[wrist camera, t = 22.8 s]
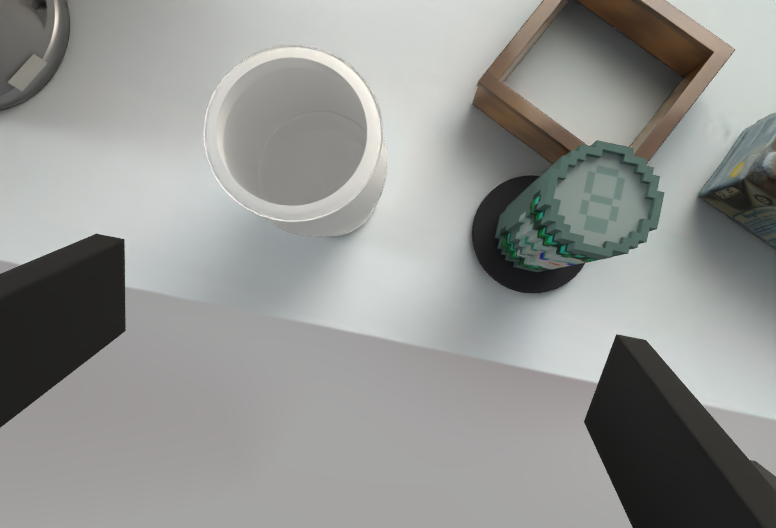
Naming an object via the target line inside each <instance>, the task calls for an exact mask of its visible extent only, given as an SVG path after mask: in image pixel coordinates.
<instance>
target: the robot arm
mask: <svg viewBox="0 0 776 528" xmlns="http://www.w3.org/2000/svg"><path fill="white" fill-rule="evenodd" d="M69 31H70V19H69V12H68V7H67V3H66V0H0V110H3V109H7V108H10V107H12V106H15V105H17V104H19V103H21V102H23V101H25V100H27V99H28V98H30V97H31V96H33V95H34V94H35V93H37V92H38V91H39V90H40V89H41V88H42V87H44V86H45V84H46V83H47V82H48V81H49V80H50V79H51V77H52V76H53V75H54V73H55V72H56V70H57V69H58V67H59V65H60V63H61V61H62V59H63V57H64V54H65V51H66V48H67V44H68V39H69ZM124 331H125V251H124V239H120V238H115V237H110V236H105V235H100V234H95V235H93V236H90V237H88V238H85V239H83V240H81V241H78V242H76V243H73V244H71V245H69V246H66V247H64V248H61V249H59V250H57V251H54V252H52V253H49V254H47V255H45V256H42V257H40V258H37V259H35V260H33V261H30V262H28V263H25V264H23V265H21V266H18V267H16V268H13V269H11V270H9V271H6V272H4V273H1V274H0V427H1V426H3V425H4V424H5V423H7V422H8V421H9V420H11V419H12V418H13V417H15V416H16V415H17V414H18V413H20V412H21V411H22V410H23V409H25V408H26V407H28V406H29V405H30V404H31V403H33V402H34V401H35V400H37V399H38V398H39V397H40V396H42V395H43V394H44V393H45V392H47V391H48V390H49V389H51V388H52V387H53V386H54V385H56V384H57V383H58V382H60V381H61V380H63V379H64V378H65V377H66V376H68V375H69V374H70V373H72V372H73V371H74V370H75V369H77V368H78V367H79V366H81V365H82V364H83V363H84V362H86V361H87V360H88V359H90V358H91V357H92V356H94V355H95V354H96V353H97V352H99V351H100V350H101V349H103V348H104V347H105V346H107V345H108V344H109V343H110V342H112V341H113V340H114V339H115V338H117V337H118V336H119V335H121V334H122V333H123V332H124ZM584 423H585V425H586V427H587V429H588V431H589V434H590V436H591V438H592V440H593V442H594V444H595V447H596V449H597V451H598V453H599V455H600V458H601V459H602V462H603V464H604V466H605V468H606V471H607V473H608V475H609V477H610V479H611V481H612V484H613V486H614V488H615V490H616V492H617V494H618V497H619V499H620V501H621V503H622V505H623V507H624V510H625V512H626V514H627V516H628V518H629V521H630V523H631V525H632V527H633V528H776V477H775V476H774V475H773V474H771V473H770V472H769V471H768V470H766V469H765V468H763V467H762V466H761V465H759V464H758V463H757V462H756V461H751V460H749V459H748V458H747V457H746V456H745V454H744V453H743V452H742V451H741V450H740V449H739V448H738V446H737V445H736V444H735V443H734V442H733V440H732V439H731V438H730V437H729V436H728V435H727V434H726V432H725V431H724V430H723V429H722V428H721V427H720V425H719V424H718V423H717V422H716V421H715V420H714V418H713V417H712V416H711V415H710V414H709V413H708V412H707V410H706V409H705V408H704V407H703V406H702V405H701V403H700V402H699V401H698V400H697V399H696V398H695V396H694V395H693V394H692V393H691V392H690V391H689V389H688V388H687V387H686V386H685V385H684V384H683V383H682V381H681V380H680V379H679V378H678V377H677V376H676V374H675V373H674V372H673V371H672V370H671V369H670V367H669V366H668V365H667V364H666V363H665V362H664V361H663V359H662V358H661V357H660V356H659V355H658V354H657V352H656V351H655V350H654V349H653V348H652V347H651V345H650V344H649V343H648V342H647V341H646V340H643V339H637V338H632V337H627V336H622V335H617V334H616V337H615V340H614V342H613V345H612V348H611V350H610V353H609V356H608V358H607V361H606V364H605V366H604V369H603V372H602V375H601V377H600V380H599V383H598V385H597V388H596V391H595V394H594V396H593V399H592V402H591V404H590V407H589V410H588V412H587V415H586V418H585V421H584Z"/></svg>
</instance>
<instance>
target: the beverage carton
mask: <svg viewBox="0 0 776 528" xmlns="http://www.w3.org/2000/svg"><path fill="white" fill-rule="evenodd" d="M699 197H701V198H702V199H704V200H705V201H707V202H708V203H709V204H711V205H712V206H714V207H715V208H717V209H718V210H720V211H721V212H723V213H724V214H726V215H727V216H729V217H730V218H732V219H733V220H735V221H736V222H737V223H739V224H740V225H742V226H743V227H745V228H746V229H747V230H749V231H750V232H752V233H753V234H755V235H756V236H758V237H759V238H761V239H762V240H764V241H765V242H767V243H768V244H769V245H771V246H772V247H774V248H775V249H776V113H773V114H771V115H768V116H767V117H765V118H763V119H761V120H759V121H757V122H756V123H755V124H754V125H752V126H750V127H748V128H746V129H745V130H744V131H743V132H742V134H741V135H740V137H739V139H738V140H737V141H736V143H735V144H734V146H733V147H732V149H731V150H730V152H729V153H728V155H727V156H726V157H725V159H724V160H723V162H722V163H721V164H720V166H719V167H718V168H717V170H716V171H715V172H714V174H713V175H712V177H711V178H710V180H709V181H708V182H707V183H706V184H705V186H704V187H703V189H702V190H701V192H700V193H699Z"/></svg>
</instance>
